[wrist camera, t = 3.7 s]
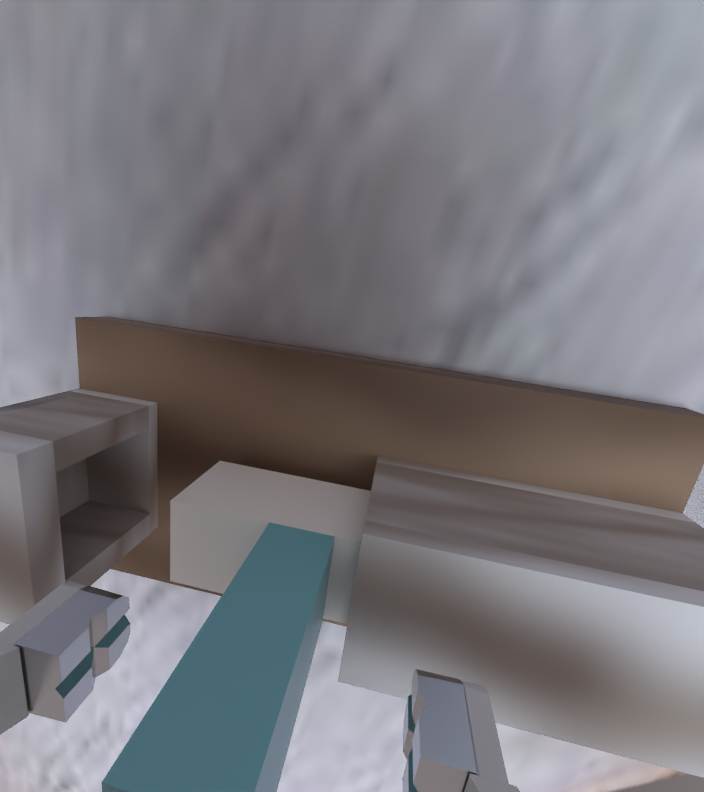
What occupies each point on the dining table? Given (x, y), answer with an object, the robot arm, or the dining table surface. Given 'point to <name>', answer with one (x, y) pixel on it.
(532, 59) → the dining table surface
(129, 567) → the brown board
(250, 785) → the white and teal block
